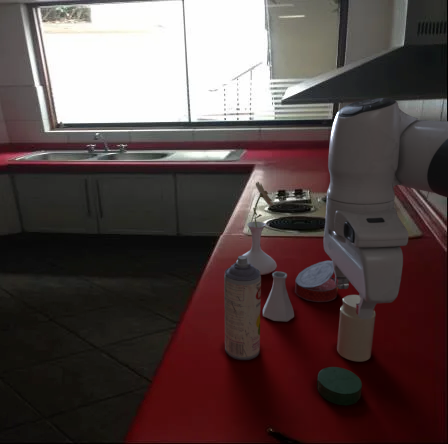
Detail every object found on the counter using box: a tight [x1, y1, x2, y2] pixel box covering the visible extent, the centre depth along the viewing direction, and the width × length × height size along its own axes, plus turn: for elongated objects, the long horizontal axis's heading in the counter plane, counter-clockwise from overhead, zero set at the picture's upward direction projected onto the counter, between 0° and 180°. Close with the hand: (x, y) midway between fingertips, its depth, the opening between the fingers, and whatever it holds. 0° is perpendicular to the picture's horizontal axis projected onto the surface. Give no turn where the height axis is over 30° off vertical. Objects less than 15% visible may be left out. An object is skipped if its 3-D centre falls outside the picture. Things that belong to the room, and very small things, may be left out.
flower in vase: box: [235, 181, 278, 276], centre depth 115 cm, size 13×11×25 cm
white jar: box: [336, 294, 377, 363], centre depth 79 cm, size 6×6×11 cm
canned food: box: [294, 260, 338, 303], centre depth 103 cm, size 11×10×10 cm
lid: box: [316, 366, 363, 406], centre depth 71 cm, size 7×7×2 cm
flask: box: [262, 270, 295, 322], centre depth 94 cm, size 7×7×10 cm
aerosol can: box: [223, 255, 262, 361], centre depth 80 cm, size 7×7×20 cm
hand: (351, 300), depth 65 cm, fingers open, 8 cm apart
